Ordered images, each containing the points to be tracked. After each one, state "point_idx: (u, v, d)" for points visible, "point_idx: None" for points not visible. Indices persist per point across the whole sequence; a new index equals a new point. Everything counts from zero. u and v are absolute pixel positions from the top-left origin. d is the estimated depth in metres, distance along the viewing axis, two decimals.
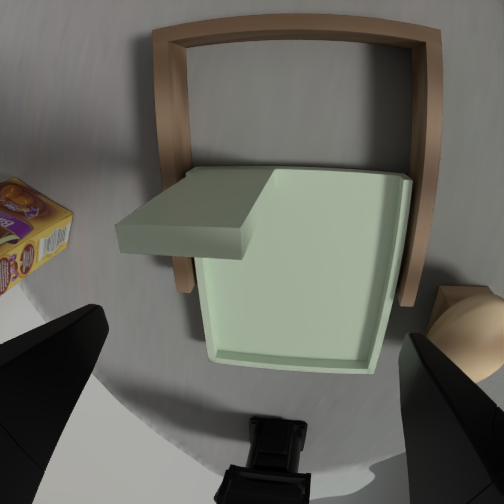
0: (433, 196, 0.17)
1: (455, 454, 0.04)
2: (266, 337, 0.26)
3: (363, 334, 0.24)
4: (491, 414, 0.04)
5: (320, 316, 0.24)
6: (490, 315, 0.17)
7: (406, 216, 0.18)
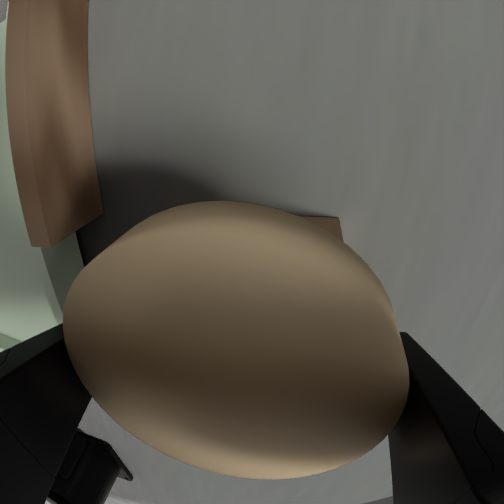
0: None
1: (435, 457, 0.04)
2: None
3: None
4: (473, 417, 0.04)
5: (2, 272, 0.12)
6: (191, 276, 0.05)
7: None
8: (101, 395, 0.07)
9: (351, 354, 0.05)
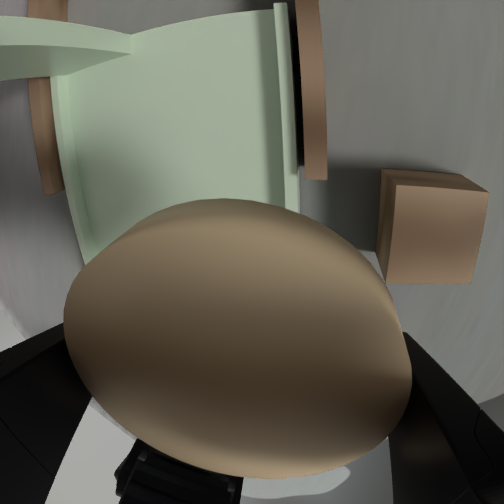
0: (315, 10, 0.11)
1: (435, 457, 0.04)
2: None
3: None
4: (473, 417, 0.04)
5: None
6: (194, 274, 0.05)
7: (287, 46, 0.12)
8: (102, 394, 0.07)
9: (354, 352, 0.05)
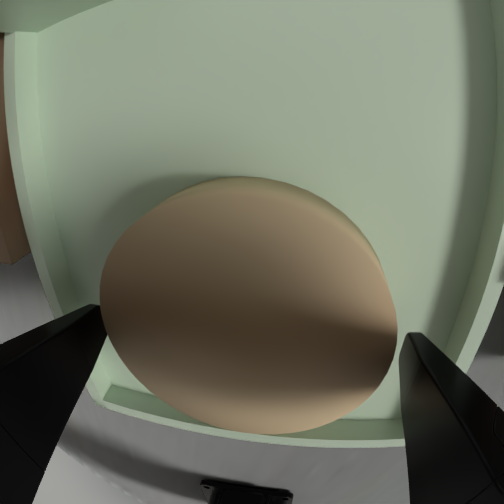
0: None
1: (455, 454, 0.04)
2: None
3: None
4: (491, 414, 0.04)
5: None
6: (221, 230, 0.07)
7: None
8: (128, 352, 0.09)
9: (347, 295, 0.07)
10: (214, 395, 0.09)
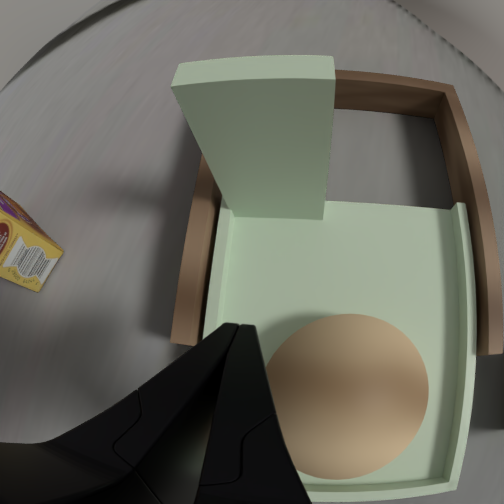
0: (489, 210, 0.14)
1: None
2: None
3: (438, 430, 0.13)
4: (256, 419, 0.05)
5: None
6: (348, 330, 0.14)
7: (469, 240, 0.15)
8: None
9: (402, 359, 0.13)
10: (324, 443, 0.12)
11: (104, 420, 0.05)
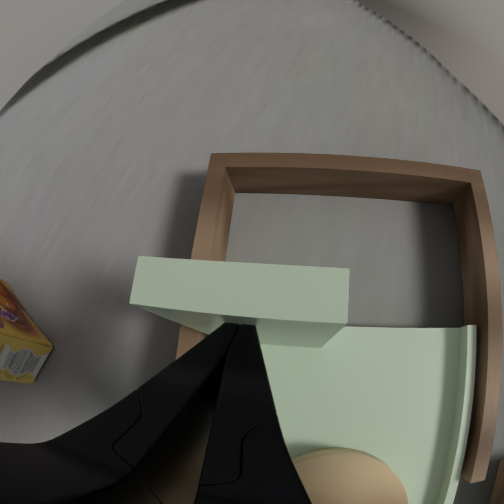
0: (500, 339, 0.13)
1: None
2: None
3: None
4: (256, 419, 0.05)
5: None
6: (335, 469, 0.12)
7: (473, 368, 0.13)
8: None
9: (385, 490, 0.11)
10: None
11: (104, 420, 0.05)
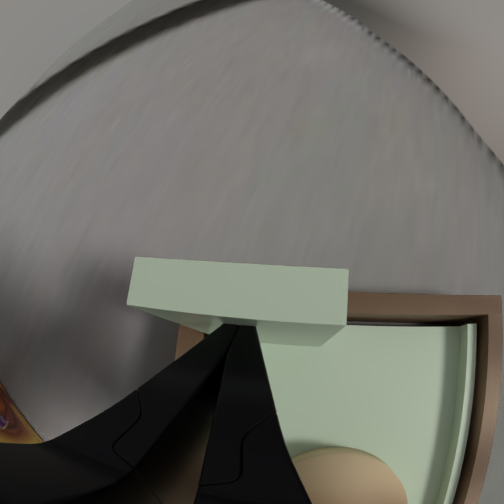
0: (482, 480, 0.10)
1: None
2: None
3: None
4: (256, 419, 0.05)
5: None
6: (333, 469, 0.12)
7: (473, 367, 0.13)
8: None
9: (384, 489, 0.11)
10: None
11: (104, 420, 0.05)
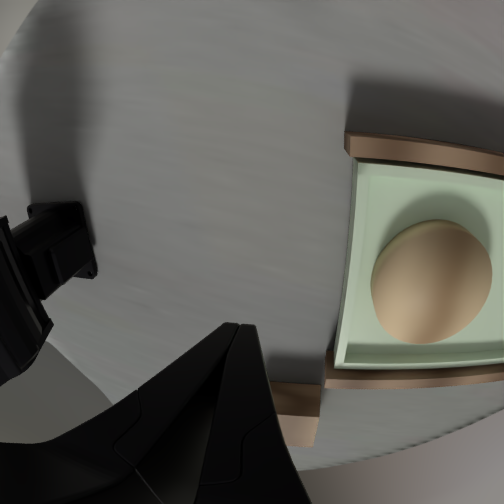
0: (425, 386, 0.20)
1: None
2: None
3: (384, 345, 0.21)
4: (256, 419, 0.05)
5: None
6: (481, 287, 0.16)
7: (495, 362, 0.19)
8: (432, 239, 0.15)
9: (454, 324, 0.17)
10: (407, 282, 0.17)
11: (104, 420, 0.05)
